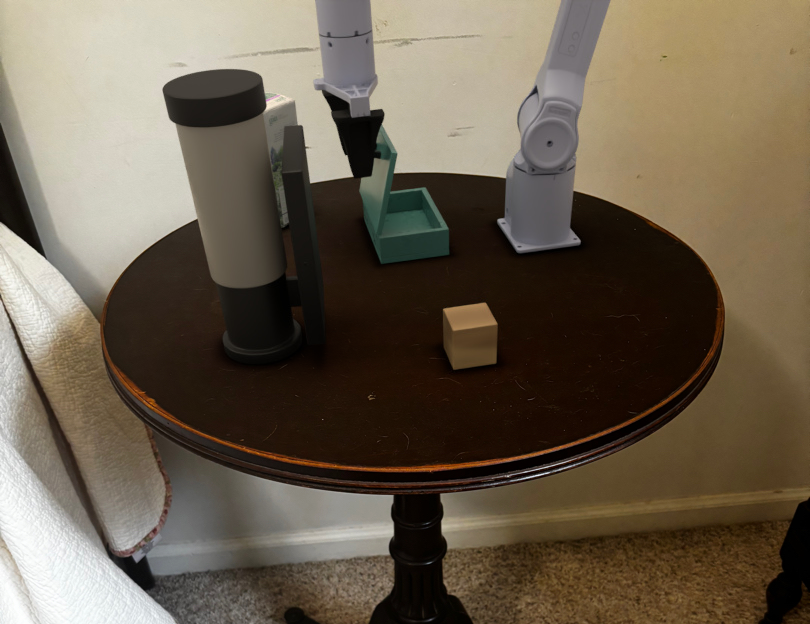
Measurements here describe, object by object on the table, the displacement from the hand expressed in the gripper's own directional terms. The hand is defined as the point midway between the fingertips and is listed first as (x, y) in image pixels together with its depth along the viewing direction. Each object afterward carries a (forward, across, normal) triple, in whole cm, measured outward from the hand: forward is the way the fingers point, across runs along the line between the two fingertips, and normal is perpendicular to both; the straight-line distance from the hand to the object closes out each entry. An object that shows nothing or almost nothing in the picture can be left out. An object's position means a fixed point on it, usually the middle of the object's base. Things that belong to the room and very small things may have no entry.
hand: (357, 164), depth 94 cm
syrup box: (+10, -11, -10) cm, 17 cm away
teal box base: (+9, 0, +5) cm, 11 cm away
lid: (+1, 0, +3) cm, 3 cm away
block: (+9, +29, +6) cm, 31 cm away
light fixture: (+10, +21, -13) cm, 27 cm away
